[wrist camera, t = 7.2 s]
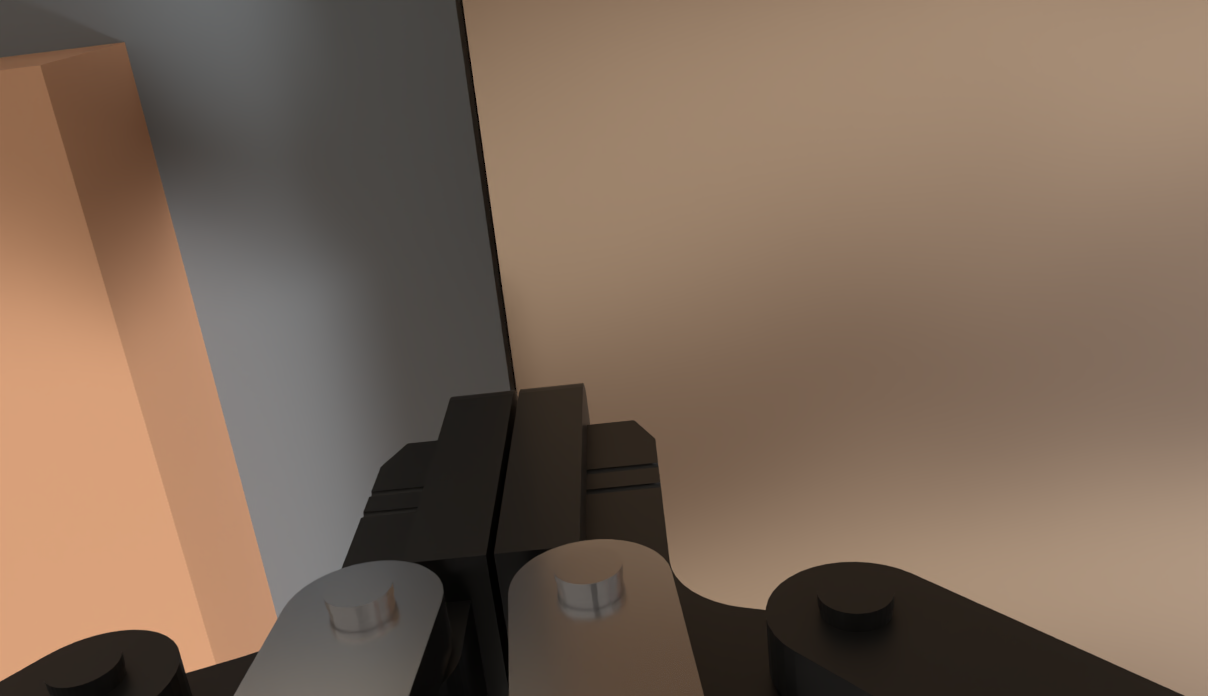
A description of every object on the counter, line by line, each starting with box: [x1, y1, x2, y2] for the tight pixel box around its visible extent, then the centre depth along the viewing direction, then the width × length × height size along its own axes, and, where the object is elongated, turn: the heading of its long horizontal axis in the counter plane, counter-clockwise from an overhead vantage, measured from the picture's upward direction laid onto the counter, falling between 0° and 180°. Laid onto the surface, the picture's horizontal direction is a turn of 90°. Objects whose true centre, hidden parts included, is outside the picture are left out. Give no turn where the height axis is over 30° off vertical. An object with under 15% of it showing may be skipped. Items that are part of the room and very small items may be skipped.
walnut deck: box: [462, 0, 1208, 696], centre depth 15 cm, size 24×10×4 cm, turn 6°
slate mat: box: [0, 0, 515, 619], centre depth 17 cm, size 16×10×1 cm, turn 6°
